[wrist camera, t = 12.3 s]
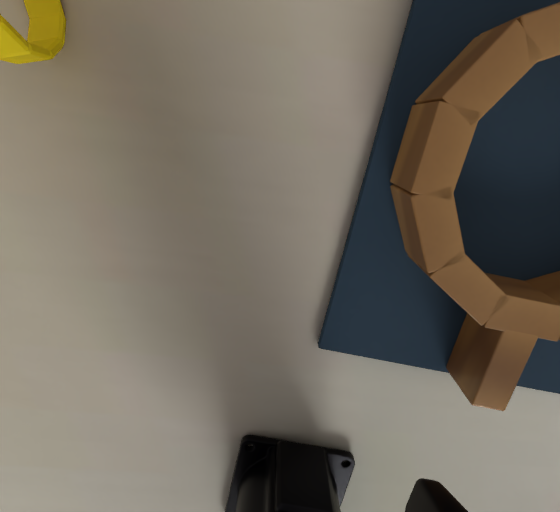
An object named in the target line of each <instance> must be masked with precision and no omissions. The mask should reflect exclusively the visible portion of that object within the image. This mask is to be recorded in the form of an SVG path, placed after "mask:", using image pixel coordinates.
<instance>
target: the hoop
mask: <svg viewBox="0 0 560 512" xmlns="http://www.w3.org/2000/svg"><path fill="white" fill-rule="evenodd" d="M558 55H560V2H558V3H555V4H552V5H550V6H547V7H544V8H541V9H538V10H535V11H532V12H529V13H526V14H523V15H521V16H519V17H517V18H514V19H512V20H510V21H508V22H505V23H503V24H501V25H499V26H497V27H494V28H492V29H490V30H488V31H486V32H483V33H481V34H480V35H479V36H477V37H475V38H474V39H473V40H472V41H471V42H470V43H469V44H468V45H467V46H466V47H465V48H464V49H463V51H462V52H461V53H460V54H459V55H458V56H457V57H456V58H455V59H454V60H453V61H452V62H451V63H450V64H449V65H448V66H447V68H446V69H445V70H444V71H443V72H442V73H441V74H440V75H439V76H438V77H437V78H436V79H435V80H434V81H433V82H432V83H431V85H430V86H429V87H428V88H427V89H426V90H425V91H424V92H423V93H422V94H421V95H420V96H419V97H418V98H417V99H416V101H415V103H416V105H412V108H411V111H410V115H409V118H408V122H407V125H406V128H405V132H404V135H403V139H402V142H401V145H400V149H399V152H398V155H397V159H396V162H395V166H394V169H393V172H392V176H391V179H390V182H391V183H393V184H392V185H391V186H390V188H391V193H392V197H393V201H394V205H395V209H396V214H397V218H398V222H399V226H400V231H401V235H402V239H403V243H404V247H405V251H406V252H407V253H408V254H407V255H408V256H409V257H410V258H411V259H412V260H413V261H414V262H415V263H416V264H417V265H418V266H419V267H420V268H421V269H422V270H423V271H424V272H425V273H426V274H427V275H428V276H429V277H430V278H431V279H432V280H433V281H434V282H435V283H436V284H437V285H438V286H439V287H440V288H441V289H443V290H444V291H445V292H446V293H447V294H448V295H449V296H450V297H451V298H452V299H453V300H454V301H455V302H456V303H457V304H458V305H459V306H461V307H462V308H463V309H464V310H465V311H466V312H467V315H466V317H465V320H464V322H463V325H462V327H461V330H460V332H459V335H458V338H457V340H456V343H455V345H454V348H453V350H452V353H451V355H450V358H449V360H448V363H447V366H446V369H447V370H448V372H449V373H450V375H451V376H452V377H453V379H454V380H455V382H456V383H457V385H458V386H459V387H460V389H461V390H462V392H463V393H464V395H465V396H466V397H467V399H468V400H469V402H470V403H471V404H472V405H474V406H479V407H485V408H490V409H496V410H501V411H504V410H505V409H506V406H507V404H508V402H509V400H510V398H511V396H512V393H513V391H514V389H515V387H516V385H517V383H518V380H519V378H520V376H521V374H522V372H523V370H524V367H525V365H526V363H527V361H528V359H529V357H530V354H531V352H532V350H533V348H534V346H535V344H536V341H537V339H538V338H541V339H546V340H551V341H558V339H559V340H560V271H557V272H553V273H550V274H546V275H543V276H539V277H536V278H532V279H529V280H525V281H523V280H518V279H513V278H509V277H504V276H499V275H494V274H489V273H484V272H483V271H482V270H481V269H480V268H479V267H478V266H477V265H476V264H475V263H474V262H473V261H472V260H471V259H470V258H469V257H468V256H467V255H466V254H465V251H464V246H463V241H462V235H461V230H460V225H459V220H458V214H457V209H456V204H455V199H454V190H455V187H456V184H457V181H458V178H459V175H460V172H461V170H462V167H463V164H464V161H465V158H466V155H467V152H468V149H469V146H470V144H471V141H472V138H473V135H474V132H475V129H476V126H477V123H478V121H479V120H480V119H481V118H482V117H483V116H484V115H485V114H486V113H487V112H488V111H489V110H490V109H491V108H492V107H493V106H494V105H495V104H496V103H497V102H498V101H499V100H500V99H501V98H502V97H503V96H504V95H505V94H506V93H507V92H508V91H509V90H510V89H511V88H512V87H513V86H514V85H515V84H516V83H517V82H518V81H519V80H520V79H521V78H522V77H523V76H524V75H525V74H526V73H527V72H528V71H529V70H530V69H531V68H532V67H533V66H534V65H535V64H536V63H537V62H540V61H543V60H546V59H549V58H552V57H555V56H558Z"/></svg>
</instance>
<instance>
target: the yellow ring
mask: <svg viewBox="0 0 560 512" xmlns="http://www.w3.org/2000/svg"><path fill="white" fill-rule="evenodd" d="M24 3H25V6H26V9H27V12H28V16H29V19H30V21H29V30H28V38H27V41H26V40H25V39H24V38H23V37H22V36H21V35H20V34H19V33H18V32H17V31H16V30H15V29H14V28H13V27H12V26H11V25H10V24H9V23H8V22H7V21H6V20H5V19H4V18H3V17H2V16H1V14H0V60H3V61H7V62H11V63H15V64H21V63H29V62H36V61H43V60H50V59H53V57H54V56H55V55H56V54H57V53H58V52H59V51H60V50H61V49H62V48H63V45H64V41H65V29H66V18H65V15H64V12H63V8H62V5H61V1H60V0H24Z"/></svg>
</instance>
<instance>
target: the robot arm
mask: <svg viewBox="0 0 560 512" xmlns="http://www.w3.org/2000/svg"><path fill="white" fill-rule="evenodd" d="M247 444H252V446H248V445H247ZM344 460H348V461H346V462H343V461H344ZM354 465H355V461H354V457H353V455H352V454H351V453H350V452H347V451H342V450H336V449H330V448H325V447H319V446H313V445H307V444H301V443H295V442H290V441H284V440H278V439H272V438H266V437H260V436H255V435H247V436H244V437H243V438H242V440H241V444H240V448H239V453H238V457H237V461H236V466H235V470H234V474H233V479H232V483H231V487H230V492H229V496H228V500H227V505H226V509H225V512H341V511H340V506H341V503H342V500H343V497H344V494H345V491H346V488H347V486H348V483H349V480H350V477H351V474H352V471H353V468H354ZM405 512H468V511H467V510H466V509H465V508H464V507H463V506H462V505H461V504H460V503H459V502H458V501H457V500H456V499H455V498H454V497H453V496H452V495H451V494H450V493H449V491H448V490H447V489H446V488H445V487H444V486H443V485H442V484H441V483H439V482H438V481H434V480H429V479H423V478H421V479H418V480H417V482H416V483H415V486H414V488H413V491H412V493H411V495H410V498H409V500H408V503H407V505H406V509H405Z"/></svg>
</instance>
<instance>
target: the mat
mask: <svg viewBox="0 0 560 512" xmlns="http://www.w3.org/2000/svg"><path fill="white" fill-rule="evenodd" d="M558 2H560V0H413V2H412V6H411V10H410V13H409V17H408V20H407V24H406V28H405V31H404V35H403V38H402V42H401V46H400V49H399V53H398V57H397V60H396V64H395V67H394V71H393V75H392V78H391V82H390V85H389V89H388V93H387V96H386V100H385V103H384V107H383V111H382V114H381V118H380V121H379V125H378V129H377V132H376V136H375V139H374V143H373V147H372V150H371V154H370V157H369V161H368V165H367V168H366V172H365V175H364V179H363V183H362V186H361V190H360V193H359V197H358V201H357V204H356V208H355V211H354V215H353V219H352V222H351V226H350V229H349V233H348V237H347V240H346V244H345V247H344V251H343V255H342V258H341V262H340V265H339V269H338V273H337V276H336V280H335V283H334V287H333V291H332V294H331V298H330V301H329V305H328V309H327V312H326V316H325V320H324V323H323V327H322V330H321V334H320V338H319V341H318V346H319V348H321V349H326V350H331V351H337V352H342V353H347V354H353V355H358V356H363V357H368V358H374V359H379V360H384V361H390V362H395V363H400V364H405V365H411V366H416V367H421V368H426V369H432V370H437V371H442V372H448V370H447V369H446V366H447V363H448V360H449V358H450V355H451V353H452V350H453V348H454V345H455V343H456V340H457V338H458V335H459V332H460V330H461V327H462V325H463V322H464V320H465V317H466V315H467V312H466V311H465V310H464V309H463V308H462V307H461V306H459V305H458V304H457V303H456V302H455V301H454V300H453V299H452V298H451V297H450V296H449V295H448V294H447V293H446V292H445V291H444V290H443V289H441V288H440V287H439V286H438V285H437V284H436V283H435V282H434V281H433V280H432V279H431V278H430V277H429V276H428V275H427V274H426V273H425V272H424V271H423V270H422V269H421V268H420V267H419V266H418V265H417V264H416V263H415V262H414V261H413V260H412V259H411V258H410V257H409V256H408V255H407V254H408V253H407V252H406V251H405V247H404V243H403V239H402V235H401V231H400V226H399V222H398V218H397V214H396V209H395V205H394V201H393V197H392V193H391V188H390V186H391V185H392V184H393V183H391V182H390V179H391V176H392V172H393V169H394V166H395V162H396V159H397V155H398V152H399V149H400V145H401V142H402V139H403V135H404V132H405V128H406V125H407V122H408V118H409V115H410V111H411V108H412V105H416V103H415V101H416V99H417V98H418V97H419V96H420V95H421V94H422V93H423V92H424V91H425V90H426V89H427V88H428V87H429V86H430V85H431V83H432V82H433V81H434V80H435V79H436V78H437V77H438V76H439V75H440V74H441V73H442V72H443V71H444V70H445V69H446V68H447V66H448V65H449V64H450V63H451V62H452V61H453V60H454V59H455V58H456V57H457V56H458V55H459V54H460V53H461V52H462V51H463V49H464V48H465V47H466V46H467V45H468V44H469V43H470V42H471V41H472V40H473V39H474V38H475V37H477V36H479V35H480V34H481V33H483V32H486V31H488V30H490V29H492V28H494V27H497V26H499V25H501V24H503V23H505V22H508V21H510V20H512V19H514V18H517V17H519V16H521V15H523V14H526V13H529V12H532V11H535V10H538V9H541V8H544V7H547V6H550V5H552V4H555V3H558ZM454 199H455V204H456V209H457V214H458V220H459V225H460V230H461V235H462V241H463V246H464V251H465V254H466V255H467V256H468V257H469V258H470V259H471V260H472V261H473V262H474V263H475V264H476V265H477V266H478V267H479V268H480V269H481V270H482V271H483V272H484V273H489V274H494V275H499V276H504V277H509V278H513V279H518V280H523V281H525V280H529V279H532V278H536V277H539V276H543V275H546V274H550V273H553V272H557V271H560V55H558V56H555V57H552V58H549V59H546V60H543V61H540V62H537V63H536V64H535V65H534V66H533V67H532V68H531V69H530V70H529V71H528V72H527V73H526V74H525V75H524V76H523V77H522V78H521V79H520V80H519V81H518V82H517V83H516V84H515V85H514V86H513V87H512V88H511V89H510V90H509V91H508V92H507V93H506V94H505V95H504V96H503V97H502V98H501V99H500V100H499V101H498V102H497V103H496V104H495V105H494V106H493V107H492V108H491V109H490V110H489V111H488V112H487V113H486V114H485V115H484V116H483V117H482V118H481V119H480V120H479V121H478V123H477V126H476V129H475V132H474V135H473V138H472V141H471V144H470V146H469V149H468V152H467V155H466V158H465V161H464V164H463V167H462V170H461V172H460V175H459V178H458V181H457V184H456V187H455V190H454ZM448 373H449V372H448ZM516 386H522V387H527V388H532V389H537V390H543V391H548V392H553V393H559V394H560V340H559V339H558V341H551V340H546V339H541V338H538V339H537V341H536V344H535V346H534V348H533V350H532V352H531V354H530V357H529V359H528V361H527V363H526V365H525V367H524V370H523V372H522V374H521V376H520V378H519V380H518V383H517V385H516Z"/></svg>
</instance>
